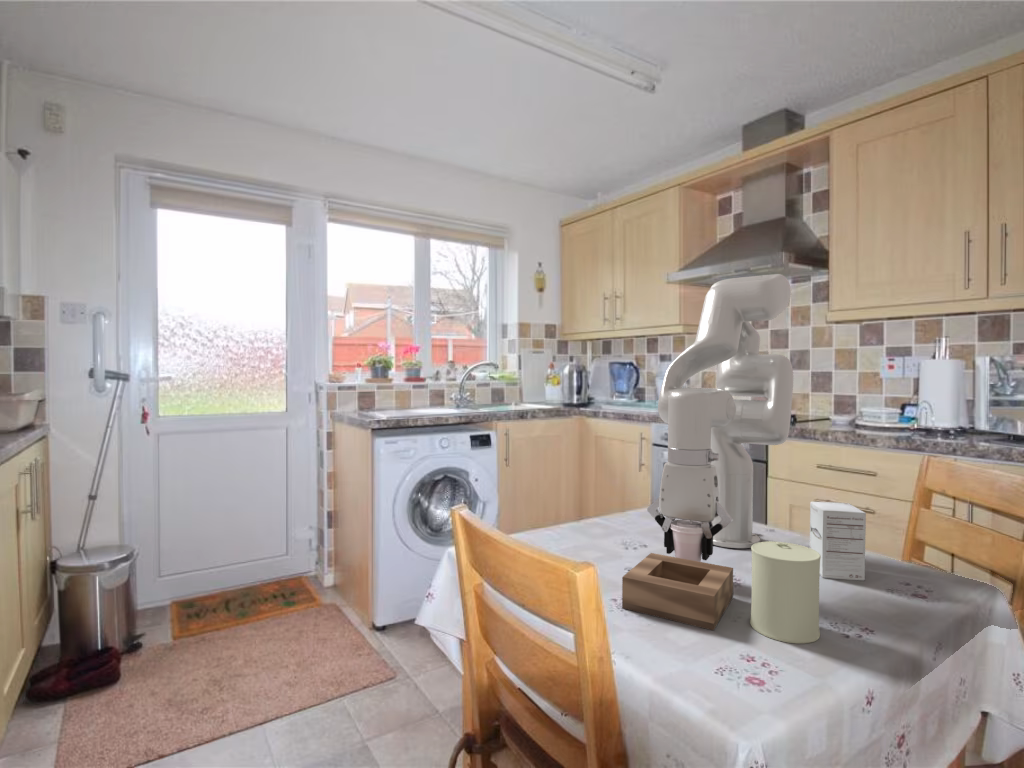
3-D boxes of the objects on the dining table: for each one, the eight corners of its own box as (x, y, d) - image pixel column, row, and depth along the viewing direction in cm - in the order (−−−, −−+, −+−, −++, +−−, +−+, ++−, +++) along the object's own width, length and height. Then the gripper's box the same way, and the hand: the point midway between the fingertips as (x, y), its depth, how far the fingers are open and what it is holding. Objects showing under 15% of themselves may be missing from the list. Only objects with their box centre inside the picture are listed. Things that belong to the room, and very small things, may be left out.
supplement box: (808, 564, 108) (809, 500, 108) (849, 567, 106) (850, 502, 106) (821, 578, 101) (822, 509, 100) (866, 581, 99) (867, 511, 99)
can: (809, 618, 84) (810, 540, 84) (829, 647, 75) (830, 560, 75) (744, 612, 86) (745, 536, 86) (756, 639, 77) (757, 555, 77)
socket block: (650, 580, 99) (651, 552, 99) (732, 597, 92) (733, 567, 92) (622, 608, 87) (622, 576, 87) (713, 630, 80) (714, 596, 80)
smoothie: (708, 583, 98) (709, 505, 98) (671, 580, 99) (671, 503, 99) (703, 571, 104) (704, 497, 104) (668, 568, 105) (669, 495, 105)
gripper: (742, 458, 100) (741, 557, 100) (649, 451, 109) (649, 542, 109) (734, 464, 93) (733, 570, 94) (636, 456, 103) (636, 552, 103)
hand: (688, 554), depth 101 cm, fingers closed on smoothie, 5 cm apart
